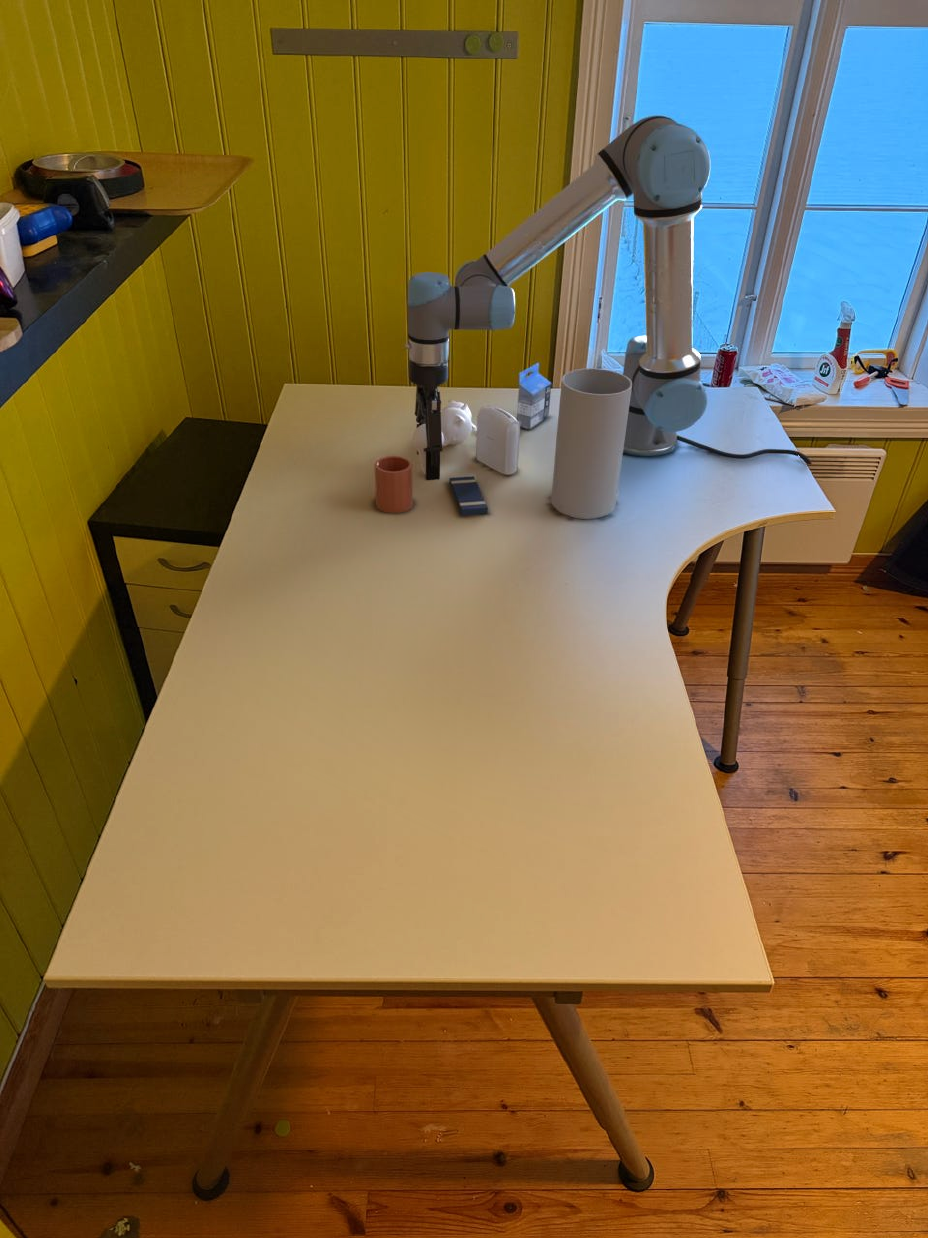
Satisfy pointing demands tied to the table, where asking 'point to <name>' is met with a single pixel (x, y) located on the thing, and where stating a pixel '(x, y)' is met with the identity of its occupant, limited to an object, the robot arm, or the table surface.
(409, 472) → the pot
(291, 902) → the table surface
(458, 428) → the cat figurine
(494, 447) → the photo printer
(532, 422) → the ink cartridge box
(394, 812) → the table surface
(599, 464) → the cylinder vase
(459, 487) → the towel
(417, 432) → the lightbulb
